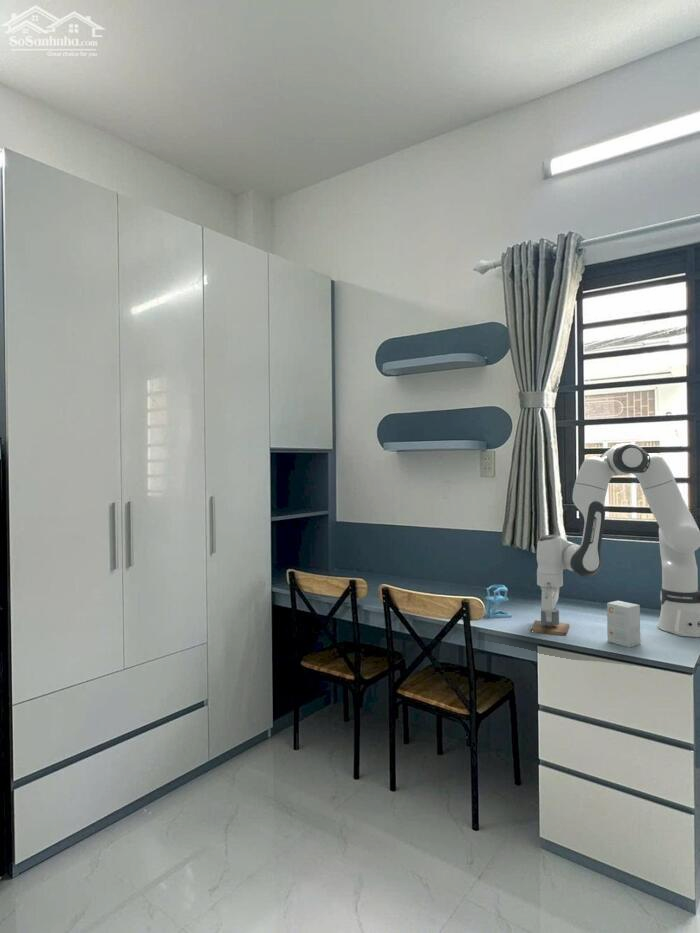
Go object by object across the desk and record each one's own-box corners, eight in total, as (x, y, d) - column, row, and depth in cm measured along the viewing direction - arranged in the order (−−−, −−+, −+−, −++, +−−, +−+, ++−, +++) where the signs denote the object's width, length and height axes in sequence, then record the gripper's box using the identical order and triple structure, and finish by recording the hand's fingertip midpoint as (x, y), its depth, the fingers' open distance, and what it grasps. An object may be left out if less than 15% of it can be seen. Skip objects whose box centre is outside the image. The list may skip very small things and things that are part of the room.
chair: (482, 614, 233) (482, 584, 233) (501, 612, 235) (500, 582, 235) (493, 619, 225) (492, 588, 225) (512, 617, 228) (511, 586, 228)
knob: (559, 621, 213) (559, 607, 213) (557, 626, 207) (557, 611, 207) (542, 619, 215) (542, 605, 215) (540, 624, 210) (540, 609, 210)
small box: (640, 644, 193) (640, 604, 193) (629, 647, 190) (629, 607, 190) (618, 638, 200) (617, 599, 200) (606, 641, 197) (606, 602, 196)
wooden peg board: (569, 626, 214) (569, 614, 214) (566, 635, 203) (566, 622, 203) (535, 622, 219) (535, 610, 219) (530, 631, 209) (530, 619, 209)
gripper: (555, 586, 200) (556, 627, 201) (561, 575, 219) (562, 612, 219) (536, 585, 203) (537, 625, 203) (544, 574, 222) (544, 610, 222)
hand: (550, 618), depth 211 cm, fingers closed on knob, 6 cm apart
